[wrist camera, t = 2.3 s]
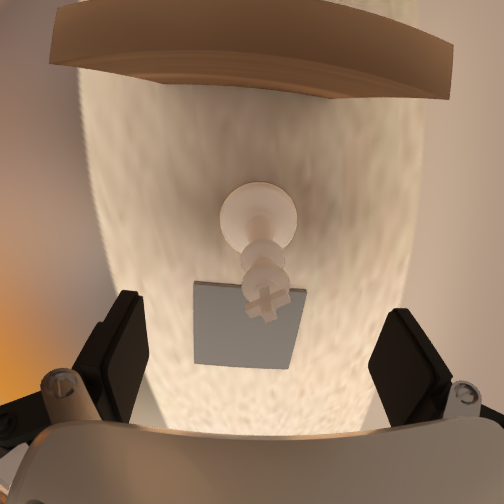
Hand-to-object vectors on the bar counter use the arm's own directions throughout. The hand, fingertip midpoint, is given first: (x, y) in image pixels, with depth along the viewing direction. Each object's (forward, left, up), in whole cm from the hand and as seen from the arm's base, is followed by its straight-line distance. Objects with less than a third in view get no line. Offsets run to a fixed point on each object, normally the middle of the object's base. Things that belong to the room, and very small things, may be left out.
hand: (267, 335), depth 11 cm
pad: (+8, 0, -10) cm, 13 cm away
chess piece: (-1, 0, -11) cm, 10 cm away
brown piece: (-11, -2, -10) cm, 15 cm away
